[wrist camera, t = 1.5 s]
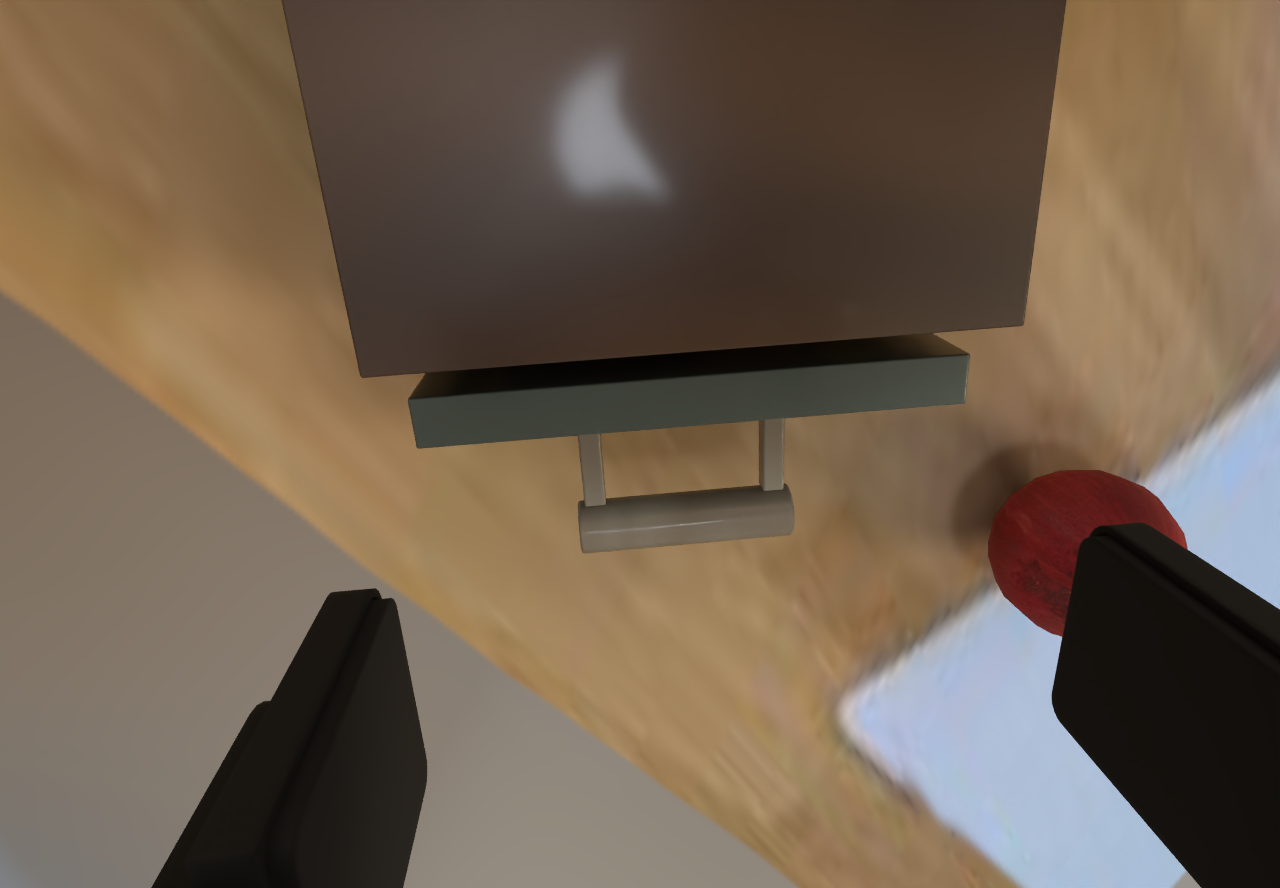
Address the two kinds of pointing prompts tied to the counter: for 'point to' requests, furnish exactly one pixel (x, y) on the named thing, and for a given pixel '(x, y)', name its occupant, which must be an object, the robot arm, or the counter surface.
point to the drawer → (686, 419)
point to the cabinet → (673, 171)
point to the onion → (1062, 535)
